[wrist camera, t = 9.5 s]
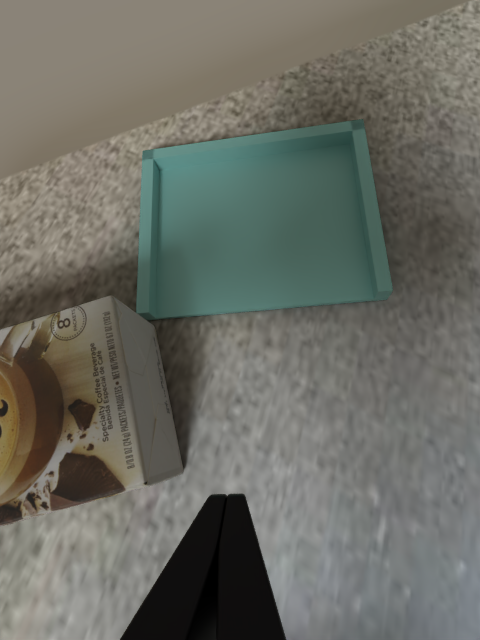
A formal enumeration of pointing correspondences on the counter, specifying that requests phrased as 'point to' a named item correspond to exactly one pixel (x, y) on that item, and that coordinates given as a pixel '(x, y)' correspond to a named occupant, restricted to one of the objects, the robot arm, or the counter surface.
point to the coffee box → (82, 410)
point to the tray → (260, 224)
